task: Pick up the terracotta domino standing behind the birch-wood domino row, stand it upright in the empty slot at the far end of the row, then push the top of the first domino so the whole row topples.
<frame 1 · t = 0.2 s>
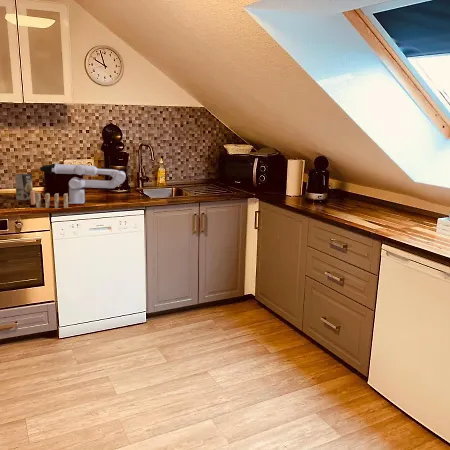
hand: (41, 168, 292), 21 cm above the countertop, tool horizontal, fingers open, 7 cm apart
domino 1: (66, 207, 285), on the countertop
end domino: (33, 203, 291), on the countertop
domino 4: (38, 207, 283), on the countertop
coffee box: (25, 199, 306), on the countertop
domino 2: (57, 207, 284), on the countertop
domino 3: (48, 207, 284), on the countertop
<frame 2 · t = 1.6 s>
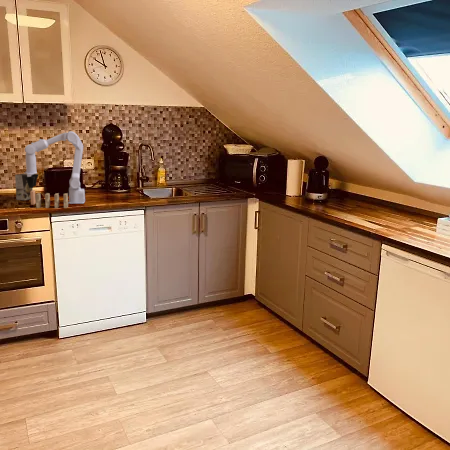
hand: (32, 187, 289), 10 cm above the countertop, tool pointing down, fingers open, 7 cm apart
nothing on the countertop moved.
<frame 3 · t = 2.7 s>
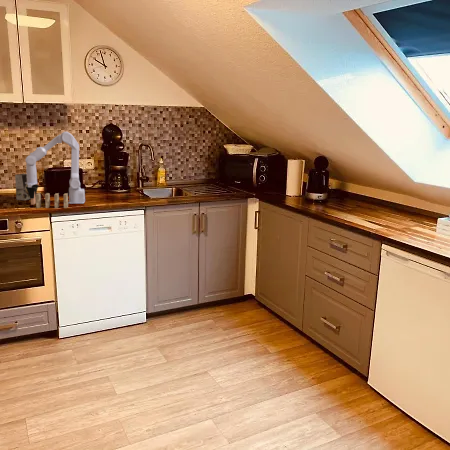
hand: (33, 197, 291), 4 cm above the countertop, tool pointing down, fingers closed on end domino, 5 cm apart
end domino: (33, 203, 291), on the countertop, touching gripper
everything else where it was.
when the fingers open (5 cm above the countertop, at t = 6.5 s): end domino stays where it is, on the countertop.
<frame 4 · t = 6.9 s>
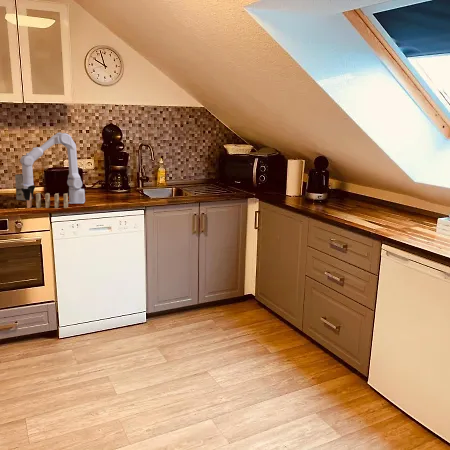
hand: (29, 199, 281), 5 cm above the countertop, tool pointing down, fingers open, 7 cm apart
end domino: (29, 207, 282), on the countertop
everything else where it was.
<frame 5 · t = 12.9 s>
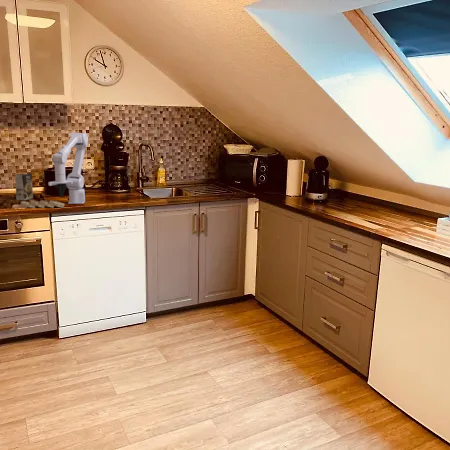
hand: (61, 196, 283), 6 cm above the countertop, tool pointing down, fingers closed
domino 1: (63, 205, 285), point 1 cm above the countertop, tilted 73°
end domino: (27, 206, 282), on the countertop, tilted 90°, touching domino 4
domino 4: (35, 205, 282), point 1 cm above the countertop, tilted 77°, touching domino 3, end domino
domino 2: (54, 205, 284), point 1 cm above the countertop, tilted 73°, touching domino 3
domino 3: (44, 205, 283), point 1 cm above the countertop, tilted 72°, touching domino 2, domino 4
everything else where it was.
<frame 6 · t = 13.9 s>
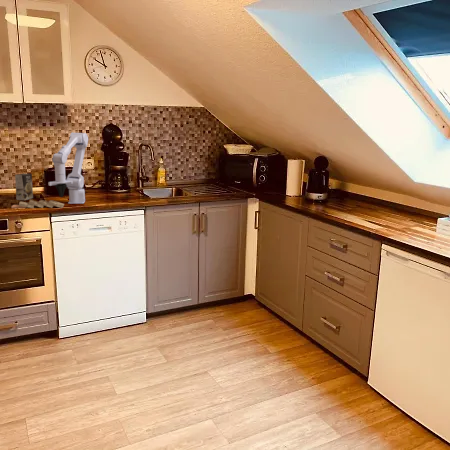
hand: (61, 196, 283), 6 cm above the countertop, tool pointing down, fingers closed
domino 1: (63, 205, 285), point 1 cm above the countertop, tilted 73°, touching domino 2
domino 4: (33, 205, 282), point 1 cm above the countertop, tilted 79°, touching domino 3, end domino
domino 2: (53, 205, 284), point 1 cm above the countertop, tilted 72°, touching domino 1, domino 3
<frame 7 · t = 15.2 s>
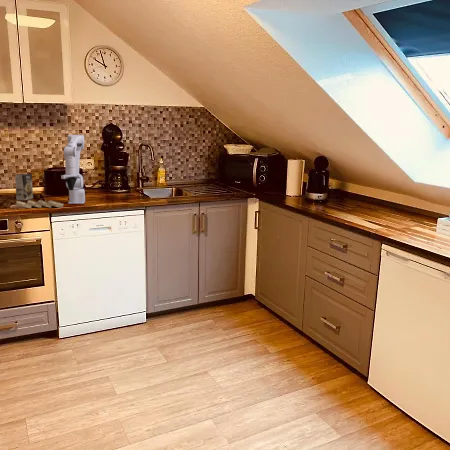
hand: (71, 190, 284), 10 cm above the countertop, tool pointing down, fingers closed
end domino: (25, 207, 281), on the countertop, tilted 90°
domino 4: (30, 205, 281), point 1 cm above the countertop, tilted 74°, touching domino 3
domino 3: (41, 205, 283), point 1 cm above the countertop, tilted 73°, touching domino 2, domino 4
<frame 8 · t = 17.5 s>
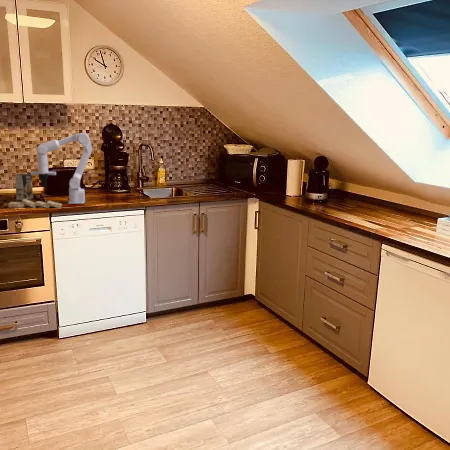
hand: (44, 186, 293), 10 cm above the countertop, tool pointing down, fingers closed
end domino: (24, 206, 282), on the countertop, tilted 90°
domino 4: (24, 204, 281), point 2 cm above the countertop, tilted 90°, touching domino 3
domino 2: (50, 205, 284), point 1 cm above the countertop, tilted 78°, touching domino 1, domino 3
domino 3: (36, 205, 282), point 1 cm above the countertop, tilted 68°, touching domino 2, domino 4
at the end: end domino inside the target area (1.6 cm from its centre), on the countertop; end domino tilted 90°; domino 3 tilted 67° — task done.
